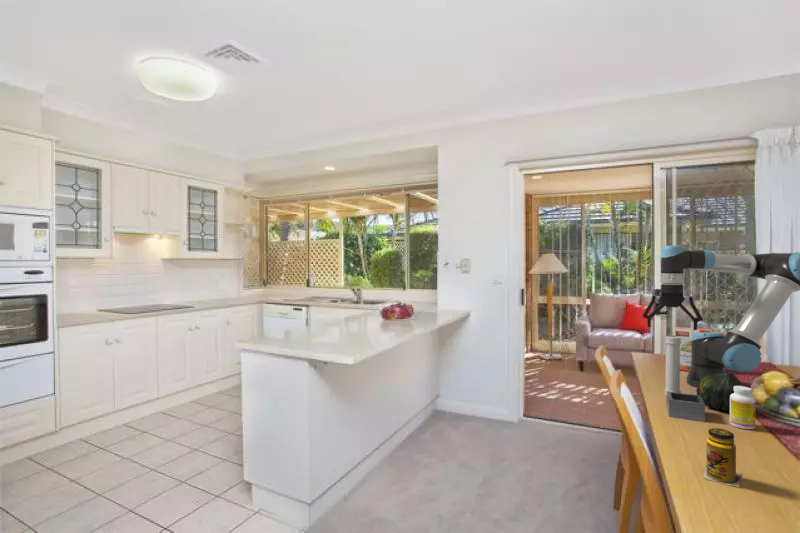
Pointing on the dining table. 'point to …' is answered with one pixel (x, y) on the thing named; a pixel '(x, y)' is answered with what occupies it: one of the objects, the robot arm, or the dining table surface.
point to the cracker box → (686, 346)
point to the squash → (718, 390)
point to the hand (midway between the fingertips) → (671, 336)
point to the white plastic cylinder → (672, 363)
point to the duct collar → (685, 406)
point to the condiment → (721, 458)
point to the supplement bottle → (742, 408)
